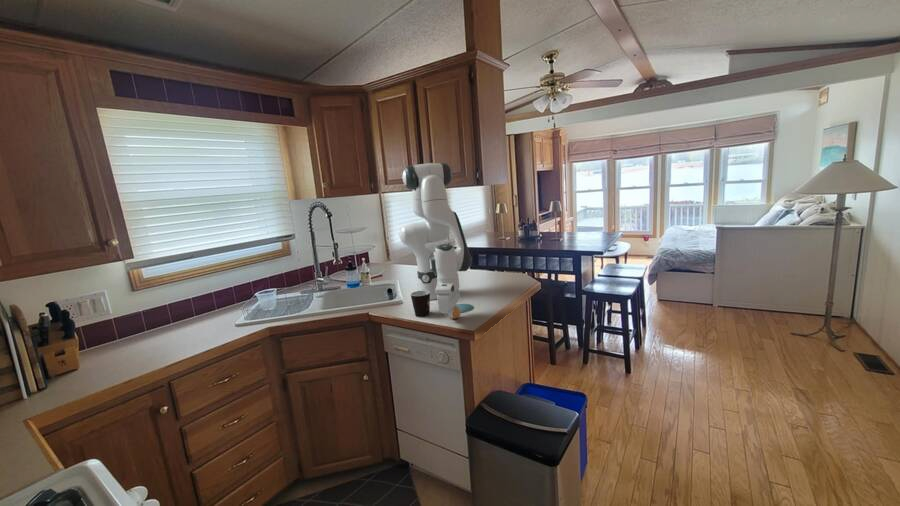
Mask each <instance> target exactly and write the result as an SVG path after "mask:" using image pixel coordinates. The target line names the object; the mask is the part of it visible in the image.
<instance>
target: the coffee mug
mask: <svg viewBox="0 0 900 506" xmlns="http://www.w3.org/2000/svg"><path fill="white" fill-rule="evenodd" d="M410 298H411V302H412V308H413V312H414V315H415V317H417V318H425V317H429V315H430V311H431V310H430V308H431V306H430V304H431V303H430V302H431V300H430V292H429V291H425V290H422V291H416V290H415V291H413V292H411V293H410Z"/></svg>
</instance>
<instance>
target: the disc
mask: <svg viewBox="0 0 900 506" xmlns="http://www.w3.org/2000/svg"><path fill="white" fill-rule="evenodd" d="M455 306H457V307H458V308H459V309H460V314H462V312H463V313H467V311H468V312H470V311H473V309H474V305H473V304H469V303H458V304H457V303H456V304H455Z"/></svg>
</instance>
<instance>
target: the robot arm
mask: <svg viewBox="0 0 900 506" xmlns="http://www.w3.org/2000/svg"><path fill="white" fill-rule="evenodd" d="M401 177H402V182H403V184H404V186H405V187H406V189H408V190H412V192H411V193H412V211H413V214H414V215H416V216H417V217H420V218H421V219H424V220H425V221H421V222H413V223H409V224H406V225H402V227H401V228H400V230H399V236H398V237H399V239H400V242H401V243H402V244H403V245H405V246H406V247H408V248H410V250H411V251H412V253H413V254H414V255H415V256H414V257H415V259H416V265H417V280H416V281H415V292H416V291H422V290H425V291H429V292H430V301H434V300H437V305H438V310H439V313H440V314H447V315H449V316H448V318H450V319H452V318H453V316H454V308H455V305H456V304H457V303H458V302H459V301H460V299H461V295H460V279H459V273H458V272H467V271H468V270H469V269H470V268H471V267H472V266H473V258H472V255H471V253H470V249H469V247H468V245H467V241H466V237H465V234H464V230H463V228H462V224H461V221H460V219H459V216H458V214H457V213H456V211H453V210H452V209H451V207H450V205H449V201H448V195H447V194H448V193H447V189H446V186H449V184H450V183H451V182H452V177H453V175H452V170H451V167H450V166H449V164H448V163H445V162H439V163H438V162H437V163H436V162H427V163H421V164H420V163H419V164H415V165H412V164H411V165H407V166H405V167H404V168H403V170H402V175H401ZM450 230H451V231H450ZM451 232H452V235H453V239H454V242H455V245H456V248H455V246H454V245H452V244H451V243H450V244H448V243H443V244H438V245H437V246H436V247H435V248H434V249H435V251H434V250H432V249H429V248H427V247H426V245H427V244H434V243H439V242H443V241H445V240H447V239H448V238H449V236H450V233H451Z"/></svg>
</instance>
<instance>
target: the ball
mask: <svg viewBox="0 0 900 506" xmlns="http://www.w3.org/2000/svg"><path fill="white" fill-rule="evenodd" d="M447 315H448V314H447ZM460 315H461V313H460V309H459V308H458V307H457V306H455V308H454V316H453V318H451V319H452V320H455V319H459V317H460ZM448 317H449V315H448Z"/></svg>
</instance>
